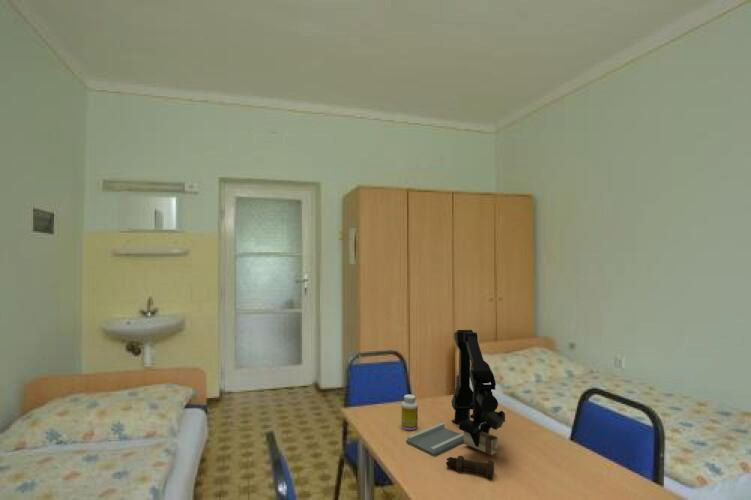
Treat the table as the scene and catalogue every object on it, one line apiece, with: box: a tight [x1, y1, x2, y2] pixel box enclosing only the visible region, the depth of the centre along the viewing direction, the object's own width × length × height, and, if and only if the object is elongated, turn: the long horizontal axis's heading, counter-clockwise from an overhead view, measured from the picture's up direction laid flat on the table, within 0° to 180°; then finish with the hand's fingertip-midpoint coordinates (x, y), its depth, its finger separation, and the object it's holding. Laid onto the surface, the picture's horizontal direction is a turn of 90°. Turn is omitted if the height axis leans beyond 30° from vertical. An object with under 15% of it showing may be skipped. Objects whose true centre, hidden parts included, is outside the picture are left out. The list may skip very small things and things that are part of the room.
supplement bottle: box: [400, 394, 419, 431], centre depth 175 cm, size 7×7×13 cm
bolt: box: [445, 455, 495, 480], centre depth 141 cm, size 6×5×15 cm
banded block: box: [463, 431, 499, 456], centre depth 155 cm, size 4×12×5 cm, turn 41°
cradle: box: [405, 422, 464, 457], centre depth 163 cm, size 20×14×2 cm
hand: (480, 444), depth 155 cm, fingers closed on banded block, 4 cm apart
